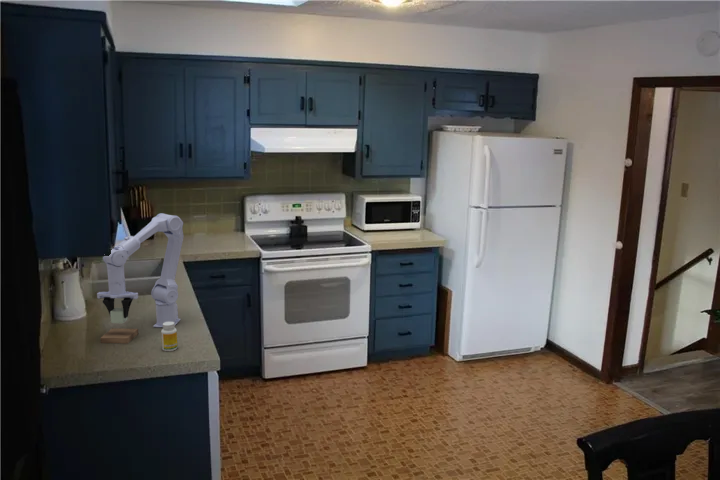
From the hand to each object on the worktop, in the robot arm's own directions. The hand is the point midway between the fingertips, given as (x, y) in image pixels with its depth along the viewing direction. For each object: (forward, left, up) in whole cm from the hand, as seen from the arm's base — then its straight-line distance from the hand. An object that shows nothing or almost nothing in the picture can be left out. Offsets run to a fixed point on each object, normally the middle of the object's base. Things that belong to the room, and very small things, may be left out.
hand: (119, 316), depth 231 cm
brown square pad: (0, 0, -9) cm, 9 cm away
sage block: (0, 0, -2) cm, 2 cm away
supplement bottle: (+9, +22, -9) cm, 25 cm away
